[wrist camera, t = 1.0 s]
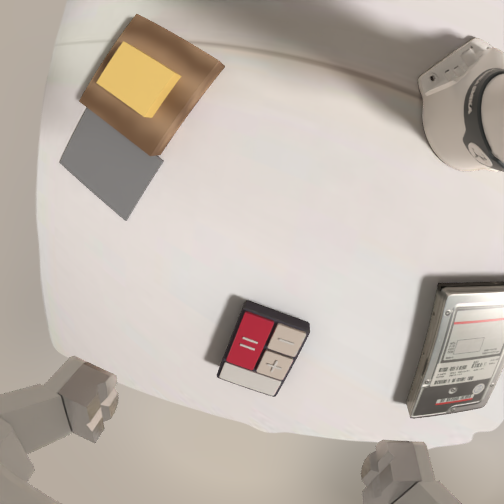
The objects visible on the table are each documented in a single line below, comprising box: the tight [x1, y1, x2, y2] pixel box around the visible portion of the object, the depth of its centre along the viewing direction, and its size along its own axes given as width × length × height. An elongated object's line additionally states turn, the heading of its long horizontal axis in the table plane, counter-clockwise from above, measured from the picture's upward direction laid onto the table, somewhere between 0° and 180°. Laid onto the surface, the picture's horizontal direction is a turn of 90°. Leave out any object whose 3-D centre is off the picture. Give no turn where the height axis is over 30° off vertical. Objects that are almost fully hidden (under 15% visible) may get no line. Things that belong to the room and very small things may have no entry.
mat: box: [60, 108, 163, 221], centre depth 46 cm, size 12×17×1 cm
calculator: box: [217, 301, 310, 397], centre depth 52 cm, size 11×4×15 cm
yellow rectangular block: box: [96, 41, 181, 118], centre depth 37 cm, size 7×10×2 cm
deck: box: [79, 14, 225, 156], centre depth 40 cm, size 16×16×4 cm
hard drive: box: [406, 282, 504, 418], centre depth 47 cm, size 18×27×4 cm
